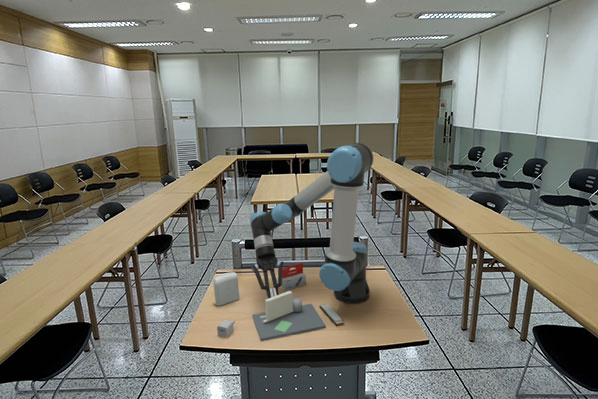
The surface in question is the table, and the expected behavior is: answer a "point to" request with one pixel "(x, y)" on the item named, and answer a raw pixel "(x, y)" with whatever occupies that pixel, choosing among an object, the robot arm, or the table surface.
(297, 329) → the gray rectangular board
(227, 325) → the usb wall charger
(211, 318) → the table surface
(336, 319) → the harmonica
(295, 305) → the cream slab with knob
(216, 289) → the photo printer
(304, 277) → the ink cartridge box
